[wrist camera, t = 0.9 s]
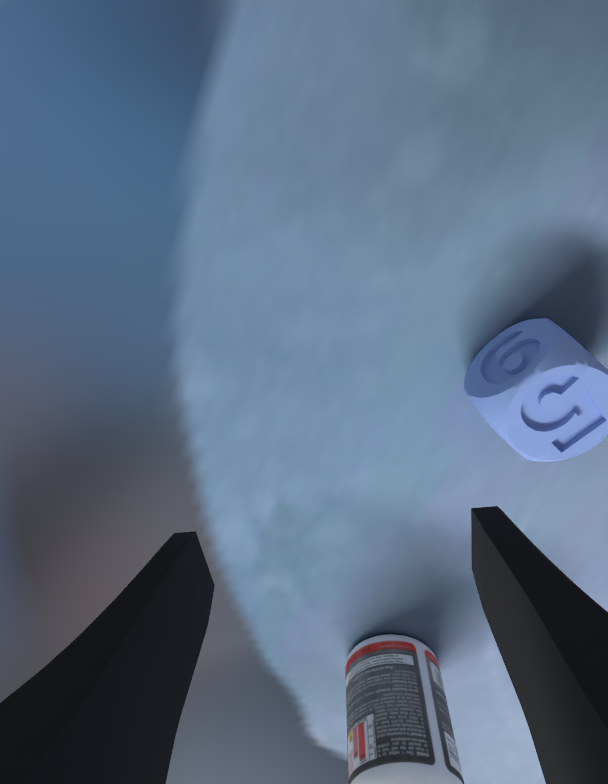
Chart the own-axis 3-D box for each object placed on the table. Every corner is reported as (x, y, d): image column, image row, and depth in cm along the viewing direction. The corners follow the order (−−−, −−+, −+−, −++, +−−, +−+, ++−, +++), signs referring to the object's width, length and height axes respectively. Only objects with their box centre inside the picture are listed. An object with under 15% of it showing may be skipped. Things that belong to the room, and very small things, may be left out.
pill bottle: (329, 670, 29) (327, 890, 20) (372, 618, 27) (390, 842, 18) (407, 698, 30) (438, 922, 21) (455, 649, 27) (513, 880, 18)
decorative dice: (511, 426, 21) (549, 480, 17) (452, 372, 20) (478, 417, 16) (589, 366, 19) (648, 411, 15) (529, 304, 18) (577, 337, 14)
